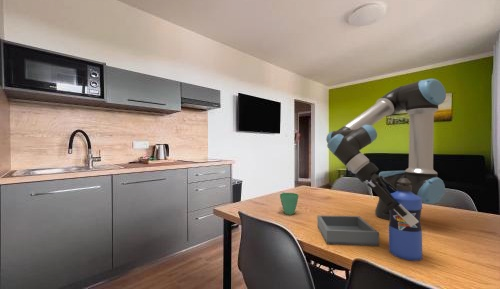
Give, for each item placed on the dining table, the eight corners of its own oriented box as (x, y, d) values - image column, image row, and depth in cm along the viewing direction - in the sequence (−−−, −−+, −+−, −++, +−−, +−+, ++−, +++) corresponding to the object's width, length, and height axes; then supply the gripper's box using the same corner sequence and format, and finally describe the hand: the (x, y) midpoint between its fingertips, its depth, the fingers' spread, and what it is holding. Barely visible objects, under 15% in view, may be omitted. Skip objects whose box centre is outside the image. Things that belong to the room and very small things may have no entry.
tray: (359, 227, 97) (359, 216, 97) (379, 246, 79) (378, 232, 79) (317, 226, 99) (317, 215, 99) (327, 244, 81) (326, 230, 81)
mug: (301, 215, 115) (301, 196, 115) (284, 216, 113) (283, 197, 113) (290, 207, 129) (290, 190, 129) (274, 209, 127) (274, 191, 127)
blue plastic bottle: (424, 264, 67) (423, 181, 67) (388, 256, 72) (387, 179, 72) (421, 251, 75) (419, 177, 75) (388, 245, 80) (387, 175, 80)
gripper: (362, 171, 92) (410, 217, 81) (345, 178, 75) (401, 236, 65) (377, 159, 88) (428, 206, 78) (361, 163, 72) (424, 222, 61)
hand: (416, 219), depth 71 cm, fingers closed on blue plastic bottle, 9 cm apart
